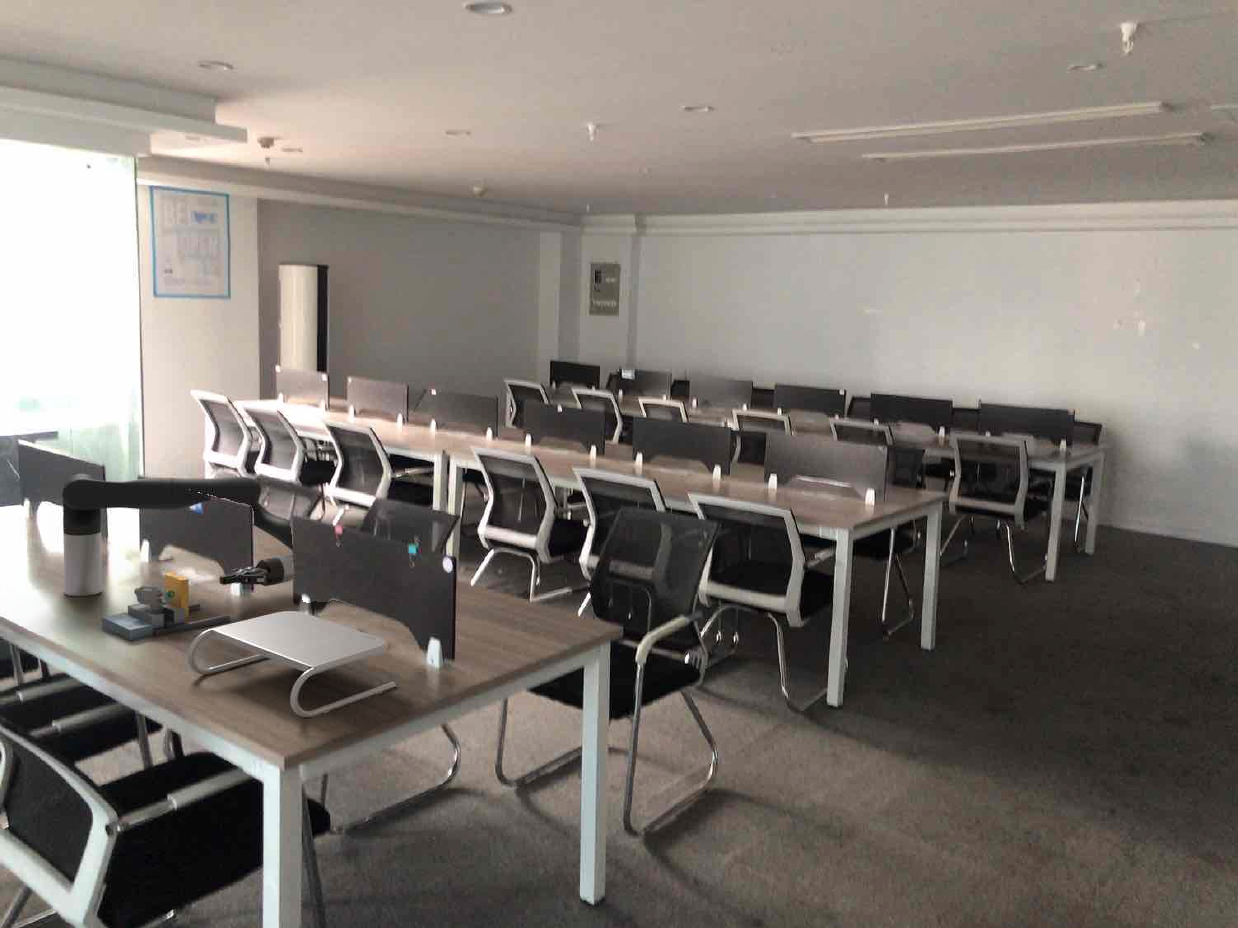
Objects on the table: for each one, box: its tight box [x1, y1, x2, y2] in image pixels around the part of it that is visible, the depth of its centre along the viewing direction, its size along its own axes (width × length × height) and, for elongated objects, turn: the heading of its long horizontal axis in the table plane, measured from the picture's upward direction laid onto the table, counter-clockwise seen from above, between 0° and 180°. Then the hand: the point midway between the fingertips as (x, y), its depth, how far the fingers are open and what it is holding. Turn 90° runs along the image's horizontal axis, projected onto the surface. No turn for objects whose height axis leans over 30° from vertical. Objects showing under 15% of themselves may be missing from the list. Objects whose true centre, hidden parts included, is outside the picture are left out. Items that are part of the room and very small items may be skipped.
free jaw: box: [149, 572, 190, 628], centre depth 255 cm, size 12×5×12 cm, turn 53°
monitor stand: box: [187, 610, 397, 718], centre depth 220 cm, size 37×28×11 cm
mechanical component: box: [134, 585, 174, 613], centre depth 253 cm, size 3×10×10 cm, turn 78°
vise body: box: [101, 602, 231, 643], centre depth 255 cm, size 16×26×5 cm, turn 143°
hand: (220, 580), depth 266 cm, fingers closed
